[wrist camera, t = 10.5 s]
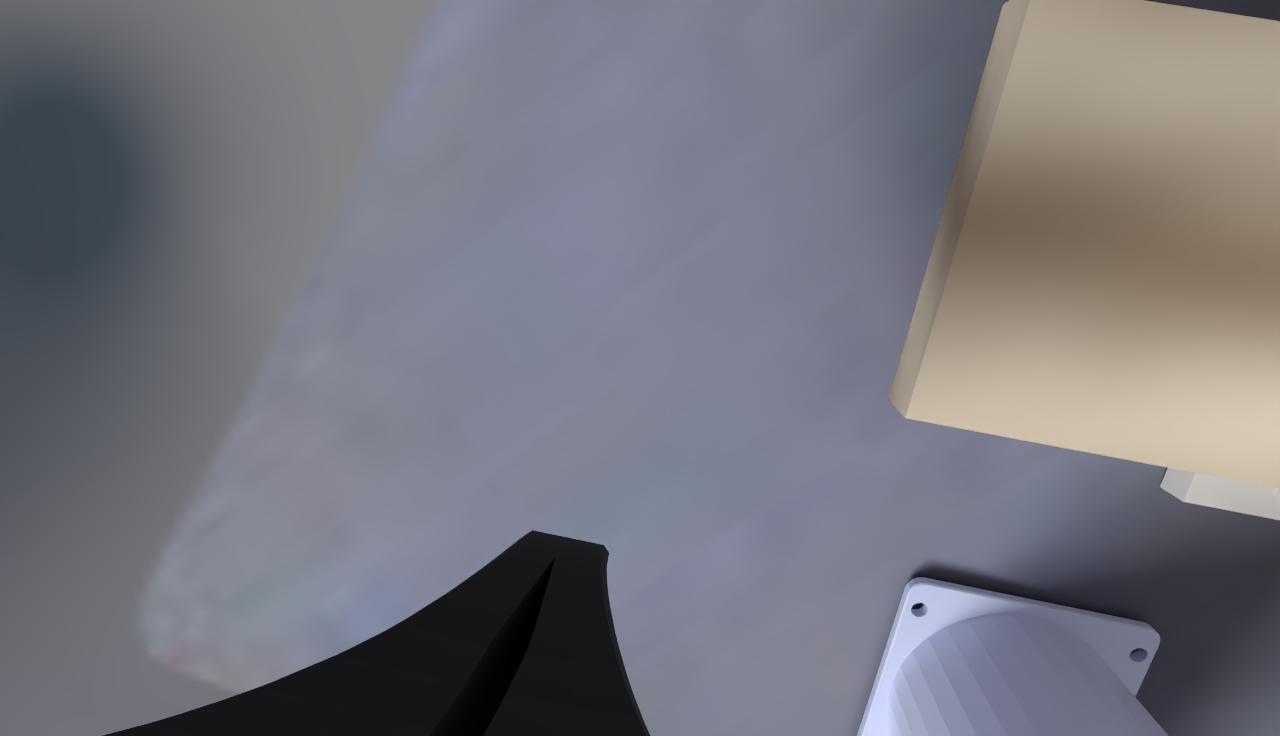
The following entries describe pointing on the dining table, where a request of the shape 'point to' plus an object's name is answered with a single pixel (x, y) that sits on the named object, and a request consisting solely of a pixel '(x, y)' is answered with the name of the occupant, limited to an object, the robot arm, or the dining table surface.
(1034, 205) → the beam
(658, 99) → the dining table surface
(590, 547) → the robot arm
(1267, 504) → the stand
